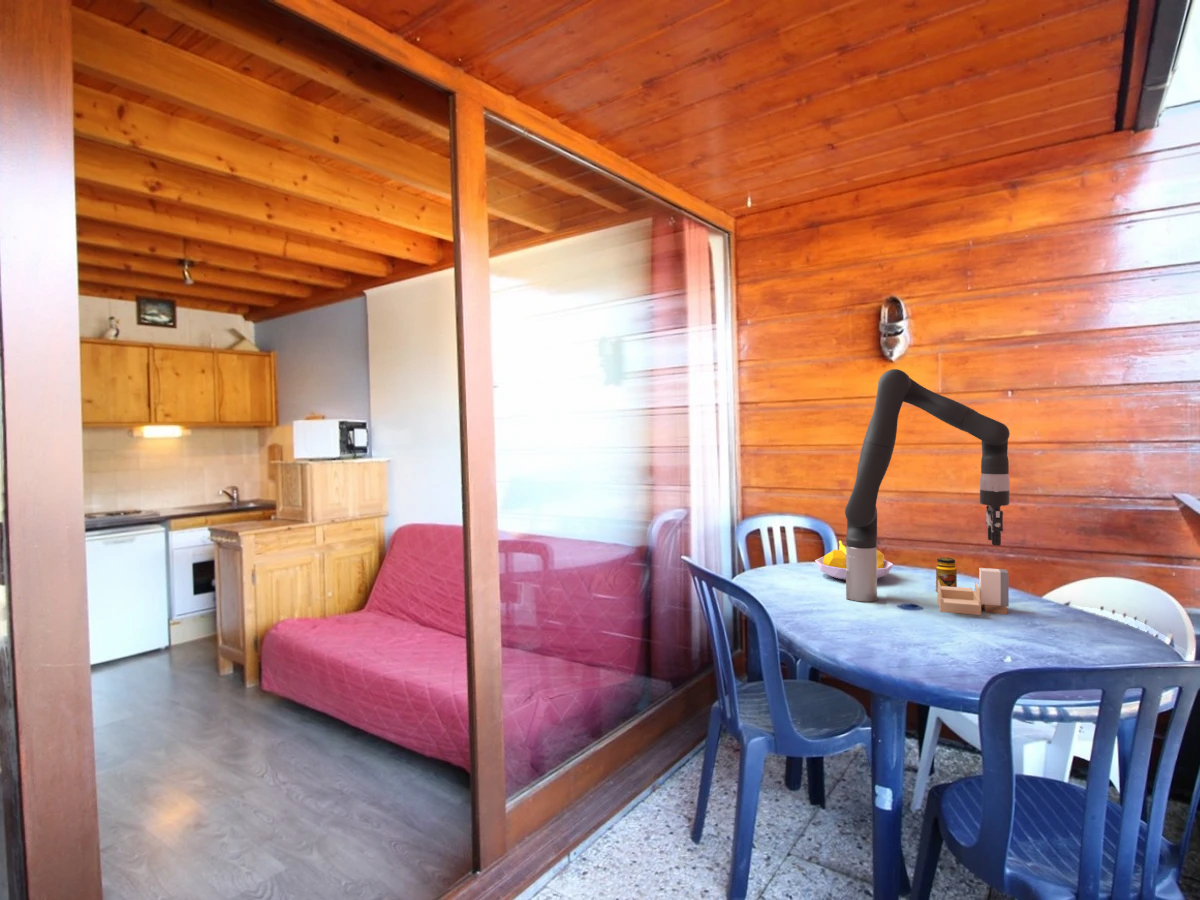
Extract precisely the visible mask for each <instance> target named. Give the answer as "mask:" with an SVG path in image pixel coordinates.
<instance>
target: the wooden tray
mask: <svg viewBox="0 0 1200 900" xmlns="http://www.w3.org/2000/svg"><path fill="white" fill-rule="evenodd" d="M936 593H937V594H936V595H937V604H938V609H939V611H940V612H942V613H952V614H965V615H977V616H982V604H981V591H980V589H979V584H978V583H977V582H974V590H973V589H972V587H961V586H960V587H959V586H957V587H948V586H941V585H940V582H939V580H938V589H937V592H936Z"/></svg>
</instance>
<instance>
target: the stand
mask: <svg viewBox="0 0 1200 900" xmlns="http://www.w3.org/2000/svg"><path fill="white" fill-rule="evenodd" d="M1007 607H1008V606H998V605H986V604H981V608H983V610H984V613H986V614H999V615H1000V614H1001V615H1007V614H1008V608H1007Z"/></svg>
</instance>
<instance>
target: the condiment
mask: <svg viewBox="0 0 1200 900" xmlns="http://www.w3.org/2000/svg"><path fill="white" fill-rule="evenodd" d="M936 561H937V563H936V564H937V565H936V567H935V581H936V582H935V584H936V585H935V590H934V591H935V592H936V593H937V589H938V580H939V582H940V585H941V586H948V587H958V583H957V582H958V581H957V575H958V572H957V570H958V569H957V567H956V560H955V558H952V557H938V558H937V559H936Z"/></svg>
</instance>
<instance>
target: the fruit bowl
mask: <svg viewBox="0 0 1200 900" xmlns="http://www.w3.org/2000/svg"><path fill="white" fill-rule="evenodd" d="M838 543H839V545H838V546H839V547H838V549H832V550H831V551H830V552H828V553H827V554H825V555H824V556H822V557H819V558H818V559H815V560H814V561H815V563H816V565H817V567H818V569H819V570H820V572H822V573H824V574H825V575H827V576H830V577H832V578H833V577H834V579H837V578H838V580H842V579H843V581H846V569H847V566H846V546H845V545H844V544H843V542H842V540H838ZM893 566H894V564H893V563H892V562H890V561H888V560H886V559H885V555H884V553H882V552H881V551H880V550H878V549H877V579H880V578H882V577H885V576H888V575H889V573H890V571H891V570H892V567H893Z"/></svg>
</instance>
